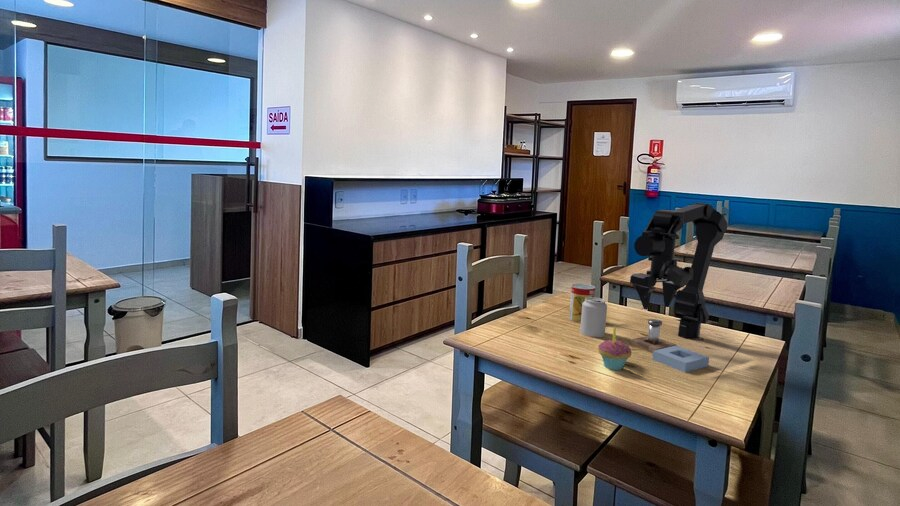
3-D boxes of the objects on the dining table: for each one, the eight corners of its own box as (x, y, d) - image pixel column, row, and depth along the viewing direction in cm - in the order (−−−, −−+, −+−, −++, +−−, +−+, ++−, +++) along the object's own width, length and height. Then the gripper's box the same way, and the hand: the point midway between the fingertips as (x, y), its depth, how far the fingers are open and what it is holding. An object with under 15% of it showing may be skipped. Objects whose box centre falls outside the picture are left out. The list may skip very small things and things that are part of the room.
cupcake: (624, 375, 136) (629, 330, 134) (592, 367, 141) (596, 324, 139) (633, 365, 144) (637, 322, 142) (601, 358, 148) (605, 316, 146)
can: (605, 341, 163) (608, 303, 161) (580, 338, 164) (583, 301, 162) (603, 333, 170) (606, 297, 168) (579, 331, 171) (582, 295, 169)
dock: (675, 357, 151) (676, 345, 150) (707, 369, 143) (709, 357, 142) (651, 362, 146) (653, 350, 145) (684, 376, 137) (685, 363, 137)
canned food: (594, 323, 181) (597, 289, 179) (571, 322, 181) (574, 288, 179) (589, 317, 189) (592, 283, 187) (567, 316, 189) (569, 283, 187)
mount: (649, 343, 162) (650, 335, 162) (675, 352, 155) (676, 344, 154) (629, 347, 158) (630, 339, 157) (654, 357, 150) (655, 348, 150)
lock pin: (651, 343, 159) (653, 318, 157) (662, 347, 156) (664, 322, 154) (642, 345, 157) (645, 320, 155) (653, 349, 154) (656, 323, 152)
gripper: (665, 260, 140) (658, 318, 143) (708, 258, 150) (701, 312, 152) (631, 253, 150) (625, 307, 152) (674, 252, 159) (668, 303, 162)
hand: (656, 308), depth 154 cm, fingers open, 9 cm apart
